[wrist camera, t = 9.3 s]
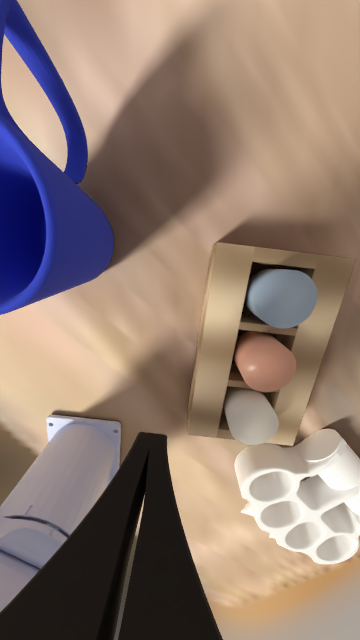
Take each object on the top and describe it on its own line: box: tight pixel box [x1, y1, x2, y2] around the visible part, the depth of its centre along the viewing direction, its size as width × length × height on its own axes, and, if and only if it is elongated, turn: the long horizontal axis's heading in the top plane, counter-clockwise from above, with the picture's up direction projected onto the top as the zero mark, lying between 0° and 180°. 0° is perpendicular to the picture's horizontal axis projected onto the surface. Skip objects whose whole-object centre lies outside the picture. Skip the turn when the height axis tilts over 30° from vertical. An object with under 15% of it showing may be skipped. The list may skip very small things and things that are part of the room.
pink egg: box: [233, 331, 296, 392], centre depth 17 cm, size 4×4×3 cm
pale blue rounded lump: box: [244, 269, 317, 329], centre depth 15 cm, size 4×4×3 cm
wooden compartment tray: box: [187, 242, 356, 446], centre depth 18 cm, size 17×10×3 cm, turn 174°
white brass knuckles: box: [235, 429, 360, 564], centre depth 23 cm, size 3×18×15 cm
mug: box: [0, 0, 114, 315], centre depth 12 cm, size 8×12×10 cm
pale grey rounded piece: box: [223, 386, 279, 445], centre depth 18 cm, size 4×4×3 cm
